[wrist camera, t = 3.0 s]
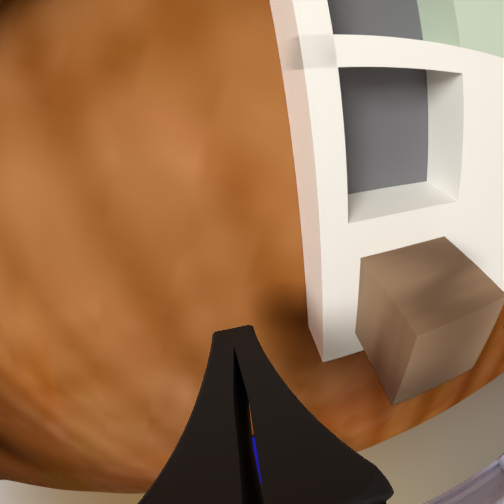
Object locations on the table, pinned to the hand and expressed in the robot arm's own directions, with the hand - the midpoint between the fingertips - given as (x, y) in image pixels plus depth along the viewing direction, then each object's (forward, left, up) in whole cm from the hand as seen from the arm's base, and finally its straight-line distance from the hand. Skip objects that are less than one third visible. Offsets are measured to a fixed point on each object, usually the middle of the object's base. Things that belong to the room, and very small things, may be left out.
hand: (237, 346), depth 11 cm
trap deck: (-10, -6, -3) cm, 12 cm away
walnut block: (-7, 0, -1) cm, 7 cm away
